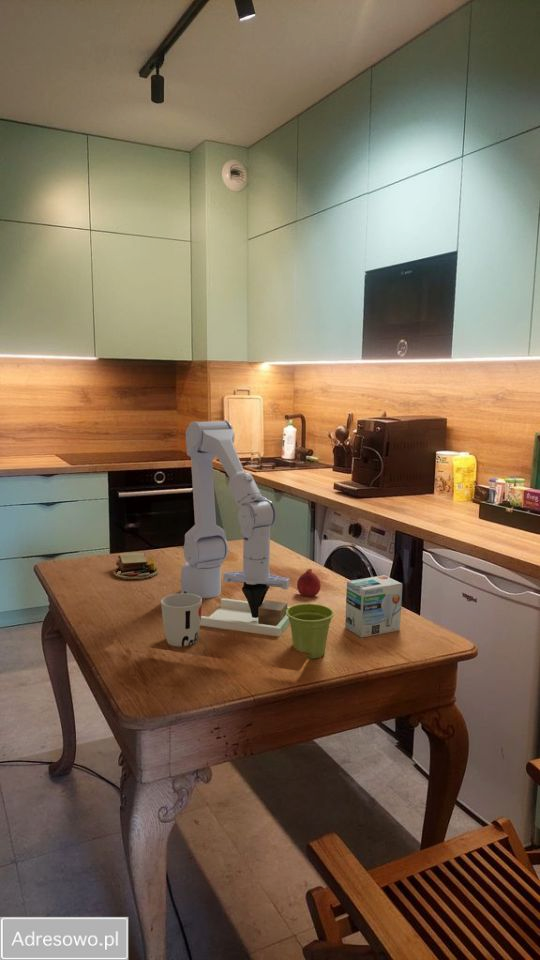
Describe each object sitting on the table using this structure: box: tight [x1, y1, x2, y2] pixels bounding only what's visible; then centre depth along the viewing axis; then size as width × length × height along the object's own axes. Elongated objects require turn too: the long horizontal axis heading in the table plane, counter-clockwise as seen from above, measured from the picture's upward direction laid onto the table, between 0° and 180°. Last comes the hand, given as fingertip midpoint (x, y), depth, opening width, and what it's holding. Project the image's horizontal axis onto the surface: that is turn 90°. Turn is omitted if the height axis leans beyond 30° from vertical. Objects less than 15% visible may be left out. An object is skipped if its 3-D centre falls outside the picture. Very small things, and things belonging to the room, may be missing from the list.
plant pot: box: [286, 603, 335, 660], centre depth 127 cm, size 9×9×9 cm
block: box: [258, 599, 288, 626], centre depth 139 cm, size 5×5×4 cm
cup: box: [160, 592, 203, 653], centre depth 129 cm, size 8×8×10 cm
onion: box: [296, 567, 322, 598], centre depth 158 cm, size 6×6×8 cm
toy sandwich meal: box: [112, 551, 160, 580], centre depth 178 cm, size 12×14×5 cm
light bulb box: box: [344, 574, 403, 638], centre depth 140 cm, size 11×7×11 cm, turn 117°
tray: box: [200, 597, 291, 637], centre depth 141 cm, size 18×13×3 cm
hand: (255, 616), depth 141 cm, fingers closed
